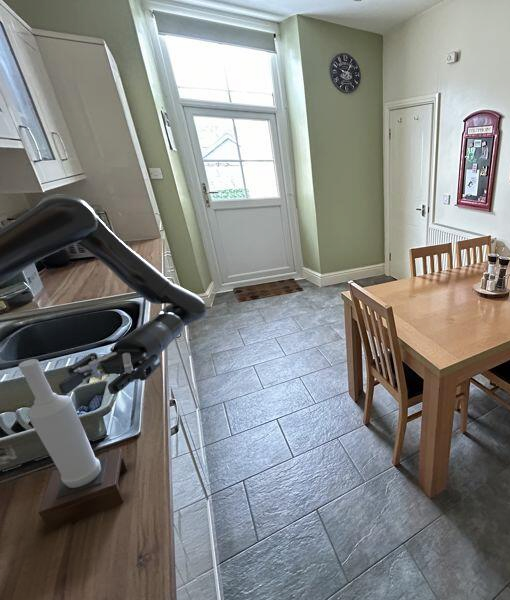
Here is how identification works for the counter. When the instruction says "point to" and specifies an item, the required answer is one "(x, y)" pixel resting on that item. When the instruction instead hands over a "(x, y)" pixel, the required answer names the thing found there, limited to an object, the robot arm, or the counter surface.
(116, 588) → the counter surface
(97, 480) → the dark wooden pedestal
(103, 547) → the counter surface
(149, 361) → the robot arm
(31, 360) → the bottle
